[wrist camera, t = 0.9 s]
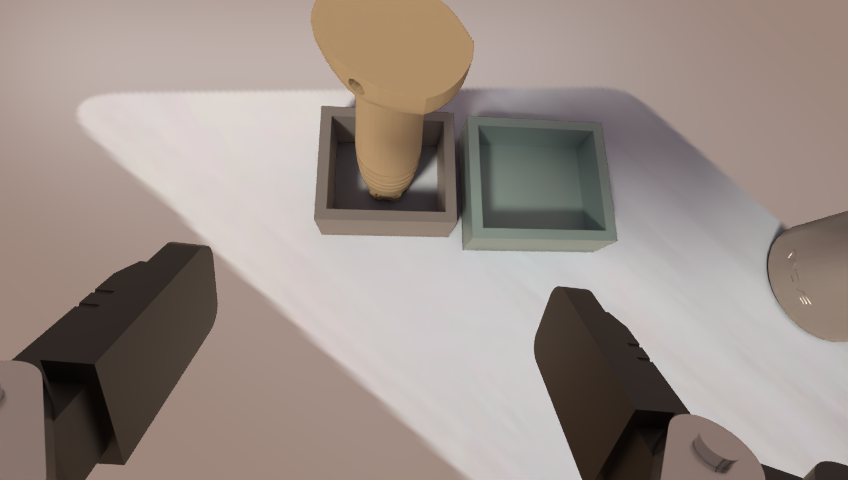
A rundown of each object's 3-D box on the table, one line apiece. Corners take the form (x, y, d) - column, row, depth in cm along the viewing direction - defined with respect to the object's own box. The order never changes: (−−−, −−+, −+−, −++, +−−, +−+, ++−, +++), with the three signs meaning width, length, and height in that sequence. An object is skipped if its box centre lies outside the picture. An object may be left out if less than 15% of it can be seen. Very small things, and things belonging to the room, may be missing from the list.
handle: (371, 136, 31) (363, -50, 16) (440, 184, 30) (495, 35, 16) (331, 183, 29) (285, 26, 15) (403, 233, 29) (426, 121, 15)
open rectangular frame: (445, 138, 31) (453, 112, 28) (448, 237, 29) (456, 222, 26) (327, 132, 30) (321, 105, 27) (321, 234, 28) (314, 219, 25)
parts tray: (579, 144, 32) (601, 122, 29) (592, 252, 30) (617, 241, 27) (459, 139, 31) (467, 115, 28) (462, 249, 29) (472, 237, 26)
